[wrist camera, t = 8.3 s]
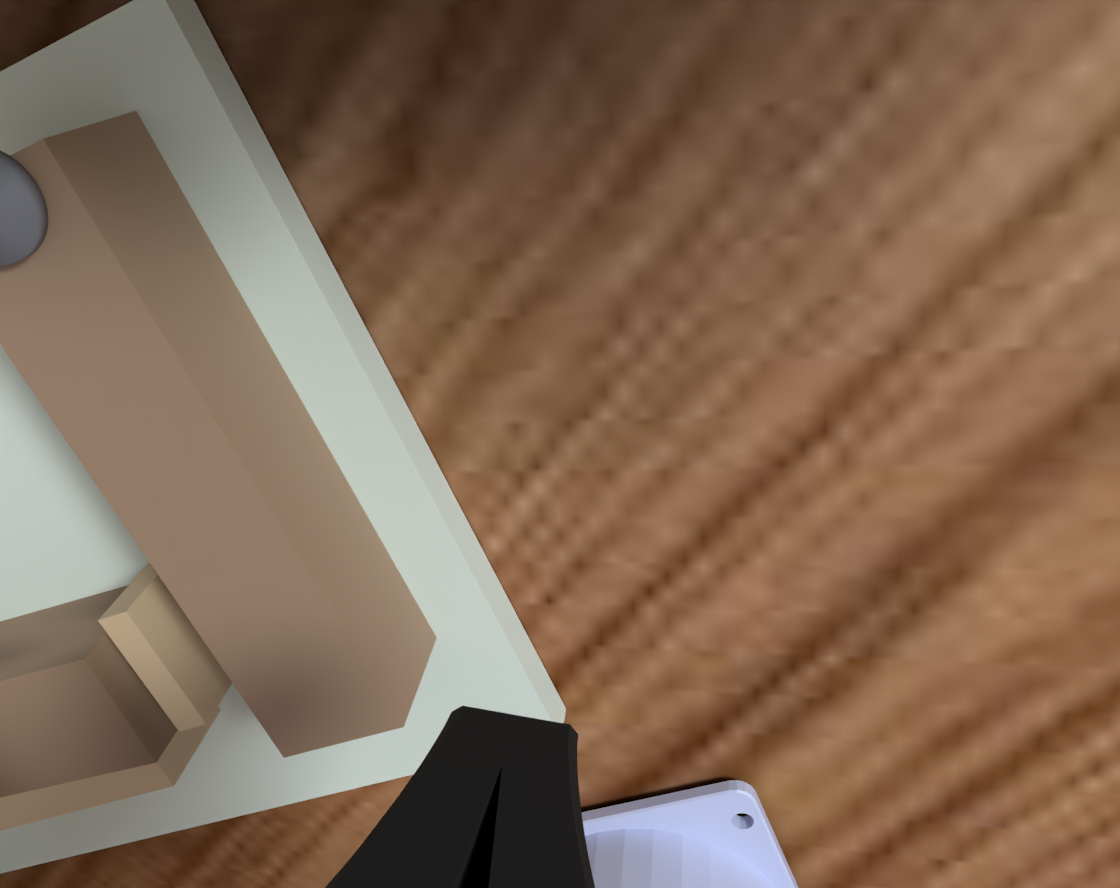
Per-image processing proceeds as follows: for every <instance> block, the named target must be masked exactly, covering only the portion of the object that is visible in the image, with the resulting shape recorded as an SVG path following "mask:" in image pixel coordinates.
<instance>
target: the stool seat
mask: <svg viewBox="0 0 1120 888" xmlns="http://www.w3.org/2000/svg"><path fill="white" fill-rule="evenodd" d="M127 585H129V586H128V587H127V588H126V589H125V590H124V591H123V592H122V594H121V595H120V596H119V597H118V598H117V599H116V600H115V602H114V603H113V604H112V605H111V606H110V607H109V608H108V610H107V611H106V612H105V613H104V614H103V615H102V616H101V618H100V619H99V620H98V622H99V623H100V624H101V626H102V627H103V628H104V630H105V631H106V632H107V634H108V635H109V637H110V638H111V639H112V641H113V642H114V643H115V645H116V646H117V648H118V649H119V650H120V652H121V653H122V654H123V656H124V657H125V658H126V660H127V661H128V663H129V664H130V665H131V667H132V668H133V669H134V671H135V672H136V674H137V675H138V676H139V678H140V679H141V680H142V682H143V683H144V684H145V686H146V687H147V689H148V690H149V691H150V693H151V694H152V695H153V697H154V698H155V700H156V701H157V702H158V704H159V705H160V706H161V708H162V709H163V710H164V712H165V713H166V715H167V716H168V717H169V719H170V720H171V721H172V723H173V724H174V726H175V727H176V728H177V730H178V731H177V732H176V734H175V735H174V737H173V738H172V740H171V741H170V743H169V744H168V746H167V747H166V749H165V750H164V752H163V753H162V755H161V756H160V758H159V760H158V761H157V763H152V764H148V765H143V766H139V767H134V768H130V769H126V770H121V771H117V772H112V773H108V774H103V775H99V776H94V777H90V778H85V779H81V780H76V781H72V782H68V783H63V784H59V785H54V786H50V787H45V788H41V789H36V790H32V791H27V792H23V793H18V794H14V795H10V796H5V797H1V798H0V874H1V873H5V872H9V871H13V870H18V869H22V868H26V867H30V866H34V865H38V864H42V863H47V862H51V861H55V860H59V859H63V858H67V857H72V856H76V855H80V854H84V853H88V852H92V851H97V850H101V849H105V848H109V847H113V846H117V845H122V844H126V843H130V842H134V841H138V840H142V839H146V838H151V837H155V836H159V835H163V834H167V833H171V832H176V831H180V830H184V829H188V828H192V827H196V826H201V825H205V824H209V823H213V822H217V821H221V820H226V819H230V818H234V817H238V816H242V815H246V814H250V813H255V812H259V811H263V810H267V809H271V808H275V807H280V806H284V805H288V804H292V803H296V802H300V801H305V800H309V799H313V798H317V797H321V796H325V795H330V794H334V793H338V792H342V791H346V790H350V789H355V788H359V787H363V786H367V785H371V784H375V783H379V782H384V781H388V780H392V779H396V778H400V777H404V776H409V775H413V774H414V773H415V772H416V771H417V769H418V768H419V766H420V765H421V763H422V762H423V760H424V759H425V757H426V756H427V754H428V752H429V751H430V749H431V748H432V746H433V744H434V743H435V741H436V739H437V738H438V736H439V734H440V733H441V731H442V729H443V727H444V726H445V724H446V722H447V720H448V718H449V716H450V714H451V712H452V711H454V710H456V709H457V708H459V707H461V706H468V707H473V708H479V709H485V710H490V711H496V712H502V713H507V714H513V715H519V716H524V717H530V718H536V719H541V720H547V721H553V722H558V723H564V718H565V712H566V708H565V706H564V704H563V702H562V700H561V698H560V696H559V695H558V693H557V691H556V689H555V687H554V685H553V683H552V681H551V679H550V677H549V676H548V674H547V672H546V670H545V668H544V666H543V664H542V662H541V660H540V658H539V656H538V655H537V653H536V651H535V649H534V647H533V645H532V643H531V641H530V639H529V637H528V636H527V634H526V632H525V630H524V628H523V626H522V624H521V622H520V620H519V618H518V616H517V615H516V613H515V611H514V609H513V607H512V605H511V603H510V601H509V599H508V597H507V596H506V594H505V592H504V590H503V588H502V586H501V584H500V582H499V580H498V578H497V576H496V575H495V573H494V571H493V569H492V567H491V565H490V563H489V561H488V559H487V557H486V556H485V554H484V552H483V550H482V548H481V546H480V544H479V542H478V540H477V538H476V536H475V535H474V533H473V531H472V529H471V527H470V525H469V523H468V521H467V519H466V517H465V515H464V514H463V512H462V510H461V508H460V506H459V504H458V502H457V500H456V498H455V496H454V495H453V493H452V491H451V489H450V487H449V485H448V483H447V481H446V479H445V477H444V475H443V474H442V472H441V470H440V468H439V466H438V464H437V462H436V460H435V458H434V456H433V455H432V453H431V451H430V449H429V447H428V445H427V443H426V441H425V439H424V437H423V435H422V434H421V432H420V430H419V428H418V426H417V424H416V422H415V420H414V418H413V416H412V415H411V413H410V411H409V409H408V407H407V405H406V403H405V401H404V399H403V397H402V395H401V394H400V392H399V390H398V388H397V386H396V384H395V382H394V380H393V378H392V376H391V375H390V373H389V371H388V369H387V367H386V365H385V363H384V361H383V359H382V357H381V355H380V354H379V352H378V350H377V348H376V346H375V344H374V342H373V340H372V338H371V336H370V335H369V333H368V331H367V329H366V327H365V325H364V323H363V321H362V319H361V317H360V315H359V314H358V312H357V310H356V308H355V306H354V304H353V302H352V300H351V298H350V296H349V294H348V293H347V291H346V289H345V287H344V285H343V283H342V281H341V279H340V277H339V275H338V274H337V272H336V270H335V268H334V266H333V264H332V262H331V260H330V258H329V256H328V254H327V253H326V251H325V249H324V247H323V245H322V243H321V241H320V239H319V237H318V235H317V234H316V232H315V230H314V228H313V226H312V224H311V222H310V220H309V218H308V216H307V214H306V213H305V211H304V209H303V207H302V205H301V203H300V201H299V199H298V197H297V195H296V194H295V192H294V190H293V188H292V186H291V184H290V182H289V180H288V178H287V176H286V174H285V173H284V171H283V169H282V167H281V165H280V163H279V161H278V159H277V157H276V155H275V154H274V152H273V150H272V148H271V146H270V144H269V142H268V140H267V138H266V136H265V134H264V133H263V131H262V129H261V127H260V125H259V123H258V121H257V119H256V117H255V115H254V114H253V112H252V110H251V108H250V106H249V104H248V102H247V100H246V98H245V96H244V94H243V93H242V91H241V89H240V87H239V85H238V83H237V81H236V79H235V77H234V75H233V73H232V72H231V70H230V68H229V66H228V64H227V62H226V60H225V58H224V56H223V54H222V53H221V51H220V49H219V47H218V45H217V43H216V41H215V39H214V37H213V35H212V33H211V32H210V30H209V28H208V26H207V24H206V22H205V20H204V18H203V16H202V14H201V13H200V11H199V9H198V7H197V5H196V3H195V1H194V0H133V1H131V2H129V3H127V4H125V5H124V6H122V7H120V8H118V9H116V10H114V11H112V12H110V13H109V14H107V15H105V16H103V17H101V18H99V19H97V20H96V21H94V22H92V23H90V24H88V25H86V26H84V27H83V28H81V29H79V30H77V31H75V32H73V33H71V34H70V35H68V36H66V37H64V38H62V39H60V40H58V41H56V42H55V43H53V44H51V45H49V46H47V47H45V48H43V49H42V50H40V51H38V52H36V53H34V54H32V55H30V56H29V57H27V58H25V59H23V60H21V61H19V62H17V63H15V64H14V65H12V66H10V67H8V68H6V69H4V70H2V71H1V72H0V621H4V620H7V619H11V618H14V617H18V616H21V615H25V614H28V613H32V612H36V611H39V610H43V609H46V608H50V607H53V606H57V605H60V604H64V603H67V602H71V601H74V600H78V599H81V598H85V597H88V596H92V595H95V594H99V593H102V592H106V591H110V590H113V589H117V588H120V587H124V586H127Z"/></svg>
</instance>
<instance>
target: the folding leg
mask: <svg viewBox="0 0 1120 888" xmlns="http://www.w3.org/2000/svg"><path fill="white" fill-rule="evenodd" d="M128 586H129V585H127V586H124V587H120V588H117V589H113V590H110V591H106V592H102V593H99V594H95V595H92V596H88V597H85V598H81V599H78V600H74V601H71V602H67V603H64V604H60V605H57V606H53V607H50V608H46V609H43V610H39V611H36V612H32V613H28V614H25V615H21V616H18V617H14V618H11V619H7V620H4V621H0V798H1V797H5V796H10V795H14V794H18V793H23V792H27V791H32V790H36V789H41V788H45V787H50V786H54V785H59V784H63V783H68V782H72V781H76V780H81V779H85V778H90V777H94V776H99V775H103V774H108V773H112V772H117V771H121V770H126V769H130V768H134V767H139V766H143V765H148V764H152V763H157V761H158V760H159V758H160V756H161V755H162V753H163V752H164V750H165V749H166V747H167V746H168V744H169V743H170V741H171V740H172V738H173V737H174V735H175V734H176V732H177V731H178V730H177V728H176V727H175V726H174V724H173V723H172V721H171V720H170V719H169V717H168V716H167V715H166V713H165V712H164V710H163V709H162V708H161V706H160V705H159V704H158V702H157V701H156V700H155V698H154V697H153V695H152V694H151V693H150V691H149V690H148V689H147V687H146V686H145V684H144V683H143V682H142V680H141V679H140V678H139V676H138V675H137V674H136V672H135V671H134V669H133V668H132V667H131V665H130V664H129V663H128V661H127V660H126V658H125V657H124V656H123V654H122V653H121V652H120V650H119V649H118V648H117V646H116V645H115V643H114V642H113V641H112V639H111V638H110V637H109V635H108V634H107V632H106V631H105V630H104V628H103V627H102V626H101V624H100V623H99V622H98V620H99V619H100V618H101V616H102V615H103V614H104V613H105V612H106V611H107V610H108V608H109V607H110V606H111V605H112V604H113V603H114V602H115V600H116V599H117V598H118V597H119V596H120V595H121V594H122V592H123V591H124V590H125V589H126V588H127V587H128Z"/></svg>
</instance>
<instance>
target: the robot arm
mask: <svg viewBox="0 0 1120 888" xmlns="http://www.w3.org/2000/svg"><path fill="white" fill-rule="evenodd" d="M577 740H578V734H577V733H576V731H575V730H574V729H573V728H572V727H571V725H570V724H564V723H558V722H553V721H547V720H541V719H536V718H530V717H524V716H519V715H513V714H507V713H502V712H496V711H490V710H485V709H479V708H473V707H468V706H461V707H459V708H457V709H456V710H454V711H452V712H451V714H450V716H449V718H448V720H447V722H446V724H445V726H444V727H443V729H442V731H441V733H440V734H439V736H438V738H437V739H436V741H435V743H434V744H433V746H432V748H431V749H430V751H429V752H428V754H427V756H426V757H425V759H424V760H423V762H422V763H421V765H420V766H419V768H418V769H417V771H416V772H415V773H414V775H413V776H412V778H411V779H410V781H409V782H408V784H407V785H406V786H405V788H404V789H403V791H402V792H401V794H400V795H399V796H398V798H397V799H396V800H395V802H394V803H393V804H392V806H391V807H390V808H389V810H388V811H387V812H386V813H385V815H384V816H383V817H382V819H381V820H380V821H379V823H378V824H377V825H376V827H375V828H374V829H373V830H372V832H371V833H370V834H369V836H368V837H367V838H366V840H365V841H364V842H363V844H362V845H361V846H360V847H359V849H358V850H357V851H356V852H355V854H354V855H353V856H352V857H351V858H350V860H349V861H348V862H347V863H346V864H345V865H344V867H343V868H342V869H341V870H340V871H339V872H338V874H337V875H336V876H335V877H334V878H333V879H332V881H331V882H330V883H329V884H328V885H327V886H326V887H325V888H798V885H797V883H796V881H795V879H794V876H793V874H792V872H791V870H790V867H789V865H788V863H787V861H786V858H785V856H784V854H783V852H782V850H781V847H780V845H779V843H778V841H777V838H776V836H775V834H774V832H773V829H772V827H771V825H770V823H769V820H768V818H767V816H766V814H765V811H764V809H763V807H762V805H761V803H760V800H759V798H758V796H757V794H756V791H755V790H754V789H753V787H752V786H751V785H749V784H747V783H746V782H743V781H739V780H729V781H724V782H720V783H715V784H710V785H706V786H701V787H697V788H692V789H687V790H683V791H678V792H673V793H669V794H664V795H660V796H655V797H650V798H646V799H641V800H637V801H632V802H627V803H623V804H618V805H613V806H609V807H604V808H600V809H595V810H590V811H586V812H581V805H580V797H579V786H578V772H577ZM739 813H745V814H748V815H747V816H738V815H737V814H739Z"/></svg>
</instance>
